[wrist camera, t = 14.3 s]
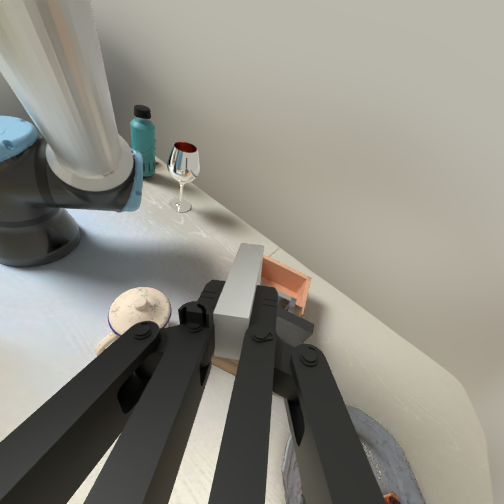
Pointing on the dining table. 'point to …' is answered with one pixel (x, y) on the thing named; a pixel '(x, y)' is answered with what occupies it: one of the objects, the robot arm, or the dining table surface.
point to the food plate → (383, 449)
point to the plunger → (291, 323)
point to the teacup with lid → (135, 312)
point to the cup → (285, 280)
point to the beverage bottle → (144, 138)
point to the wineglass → (183, 170)
